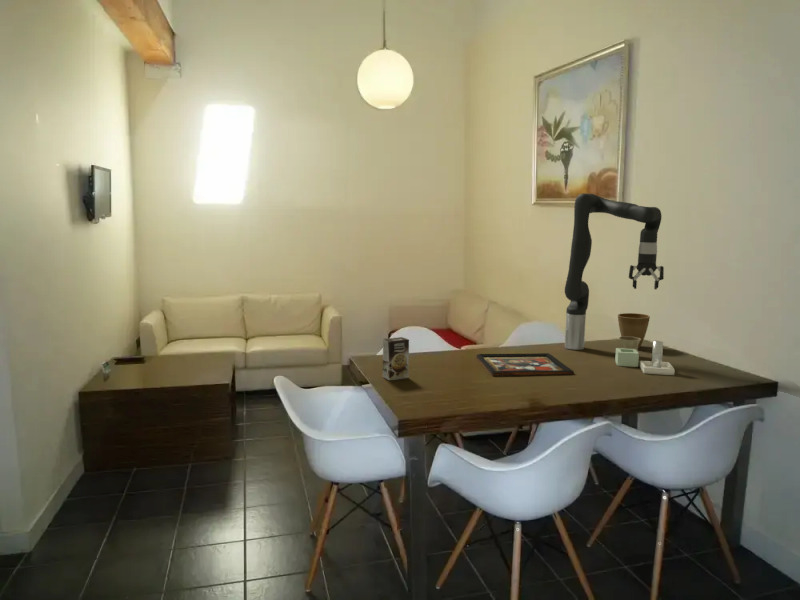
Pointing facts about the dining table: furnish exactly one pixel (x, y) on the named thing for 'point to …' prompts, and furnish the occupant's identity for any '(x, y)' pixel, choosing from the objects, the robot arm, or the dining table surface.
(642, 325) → the plant pot
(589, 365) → the dining table surface
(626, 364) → the block
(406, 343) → the food box
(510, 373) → the framed painting
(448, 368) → the dining table surface
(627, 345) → the flower pot
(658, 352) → the pin
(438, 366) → the dining table surface
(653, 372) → the tray
